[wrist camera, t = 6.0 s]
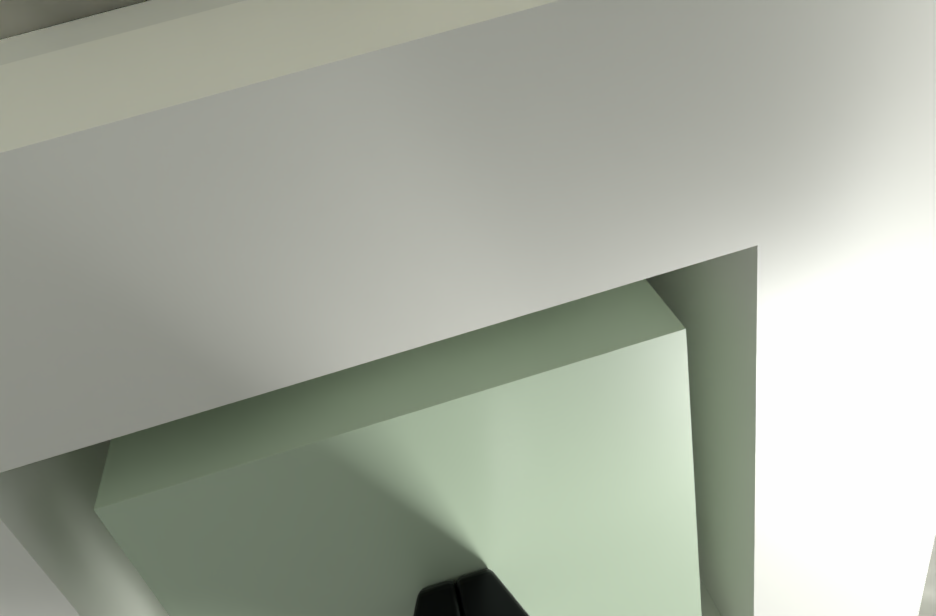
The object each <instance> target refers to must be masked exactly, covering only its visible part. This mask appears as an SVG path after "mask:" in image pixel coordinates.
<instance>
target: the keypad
mask: <svg viewBox="0 0 936 616" xmlns="http://www.w3.org/2000/svg"><path fill="white" fill-rule="evenodd" d="M643 279H646V280H647V281H648V283H649V284H650V285H651V286H652V287H653V289H654V290H655V291H656V292H657V294H658V295H659V296H660V297H661V299H662V300H663V301H664V302H665V303H666V305H667V306H668V307H669V308H670V310H671V311H672V312H673V313H674V315H675V316H676V317H677V318H678V319H679V321H680V322H681V323H682V324H683V326H684V327H685V328H686V338H687V356H688V374H689V393H690V411H691V429H692V448H693V466H694V484H695V503H696V521H697V539H698V558H699V576H700V594H701V613H702V616H918V614H919V609H920V604H921V600H922V595H923V590H924V585H925V581H926V576H927V571H928V567H929V562H930V557H931V553H932V548H933V543H934V539H935V534H936V0H150V1H146V2H142V3H138V4H134V5H131V6H127V7H123V8H119V9H115V10H112V11H108V12H104V13H100V14H96V15H93V16H89V17H85V18H81V19H77V20H74V21H70V22H66V23H62V24H58V25H55V26H51V27H47V28H43V29H39V30H36V31H32V32H28V33H24V34H20V35H17V36H13V37H9V38H5V39H1V40H0V616H169V615H168V613H167V612H166V610H165V609H164V608H163V606H162V605H161V603H160V602H159V601H158V599H157V598H156V596H155V595H154V594H153V592H152V591H151V589H150V588H149V587H148V585H147V584H146V582H145V581H144V580H143V578H142V577H141V575H140V574H139V573H138V571H137V570H136V568H135V567H134V566H133V564H132V563H131V561H130V560H129V559H128V557H127V556H126V554H125V553H124V552H123V550H122V549H121V547H120V546H119V545H118V543H117V542H116V540H115V539H114V538H113V536H112V535H111V533H110V532H109V531H108V529H107V528H106V526H105V525H104V524H103V522H102V521H101V520H100V518H99V517H98V515H97V514H96V513H95V511H94V506H95V502H96V498H97V494H98V490H99V486H100V482H101V478H102V474H103V470H104V466H105V462H106V458H107V454H108V450H109V446H110V442H111V439H114V438H117V437H120V436H124V435H127V434H130V433H134V432H137V431H140V430H144V429H147V428H150V427H154V426H157V425H160V424H164V423H167V422H170V421H174V420H177V419H180V418H184V417H187V416H190V415H194V414H197V413H200V412H204V411H207V410H210V409H214V408H217V407H220V406H224V405H227V404H230V403H234V402H237V401H240V400H244V399H247V398H250V397H254V396H257V395H260V394H264V393H267V392H270V391H274V390H277V389H280V388H284V387H287V386H290V385H294V384H297V383H300V382H304V381H307V380H310V379H314V378H317V377H320V376H324V375H327V374H330V373H334V372H337V371H340V370H344V369H347V368H350V367H354V366H357V365H360V364H364V363H367V362H370V361H374V360H377V359H380V358H384V357H387V356H390V355H394V354H397V353H400V352H404V351H407V350H410V349H414V348H417V347H420V346H424V345H427V344H430V343H434V342H437V341H440V340H444V339H447V338H450V337H454V336H457V335H460V334H464V333H467V332H470V331H474V330H477V329H480V328H484V327H487V326H490V325H493V324H497V323H500V322H503V321H507V320H510V319H513V318H517V317H520V316H523V315H527V314H530V313H533V312H537V311H540V310H543V309H547V308H550V307H553V306H557V305H560V304H563V303H567V302H570V301H573V300H577V299H580V298H583V297H587V296H590V295H593V294H597V293H600V292H603V291H607V290H610V289H613V288H617V287H620V286H623V285H627V284H630V283H633V282H637V281H640V280H643Z"/></svg>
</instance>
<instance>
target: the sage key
mask: <svg viewBox="0 0 936 616" xmlns="http://www.w3.org/2000/svg"><path fill="white" fill-rule="evenodd" d="M94 511H95V513H96V514H97V515H98V517H99V518H100V520H101V521H102V522H103V524H104V525H105V526H106V528H107V529H108V531H109V532H110V533H111V535H112V536H113V538H114V539H115V540H116V542H117V543H118V545H119V546H120V547H121V549H122V550H123V552H124V553H125V554H126V556H127V557H128V559H129V560H130V561H131V563H132V564H133V566H134V567H135V568H136V570H137V571H138V573H139V574H140V575H141V577H142V578H143V580H144V581H145V582H146V584H147V585H148V587H149V588H150V589H151V591H152V592H153V594H154V595H155V596H156V598H157V599H158V601H159V602H160V603H161V605H162V606H163V608H164V609H165V610H166V612H167V613H168V615H169V616H413V614H414V609H415V604H416V599H417V596H418V594H419V592H420V591H421V590H422V589H423V588H425V587H429V586H432V585H435V584H438V583H441V582H444V581H447V580H451V581H453V582H455V584H456V582H457V579H458V578H459V577H460V576H463V575H466V574H469V573H472V572H475V571H478V570H482V569H485V568H487V569H490V570H492V571H493V572H494V573H495V574H496V575H497V576H498V578H499V579H500V580H501V581H502V582H503V584H504V585H505V586H506V587H507V589H508V590H509V591H510V592H511V593H512V595H513V596H514V597H515V598H516V600H517V601H518V602H519V603H520V604H521V606H522V607H523V608H524V609H525V611H526V612H527V613H528V614H529V615H530V616H702V613H701V594H700V576H699V558H698V539H697V521H696V503H695V484H694V466H693V448H692V429H691V411H690V393H689V374H688V356H687V338H686V328H685V327H684V326H683V324H682V323H681V322H680V321H679V319H678V318H677V317H676V316H675V315H674V313H673V312H672V311H671V310H670V308H669V307H668V306H667V305H666V303H665V302H664V301H663V300H662V299H661V297H660V296H659V295H658V294H657V292H656V291H655V290H654V289H653V287H652V286H651V285H650V284H649V283H648V281H647V280H646V279H643V280H640V281H637V282H633V283H630V284H627V285H623V286H620V287H617V288H613V289H610V290H607V291H603V292H600V293H597V294H593V295H590V296H587V297H583V298H580V299H577V300H573V301H570V302H567V303H563V304H560V305H557V306H553V307H550V308H547V309H543V310H540V311H537V312H533V313H530V314H527V315H523V316H520V317H517V318H513V319H510V320H507V321H503V322H500V323H497V324H493V325H490V326H487V327H484V328H480V329H477V330H474V331H470V332H467V333H464V334H460V335H457V336H454V337H450V338H447V339H444V340H440V341H437V342H434V343H430V344H427V345H424V346H420V347H417V348H414V349H410V350H407V351H404V352H400V353H397V354H394V355H390V356H387V357H384V358H380V359H377V360H374V361H370V362H367V363H364V364H360V365H357V366H354V367H350V368H347V369H344V370H340V371H337V372H334V373H330V374H327V375H324V376H320V377H317V378H314V379H310V380H307V381H304V382H300V383H297V384H294V385H290V386H287V387H284V388H280V389H277V390H274V391H270V392H267V393H264V394H260V395H257V396H254V397H250V398H247V399H244V400H240V401H237V402H234V403H230V404H227V405H224V406H220V407H217V408H214V409H210V410H207V411H204V412H200V413H197V414H194V415H190V416H187V417H184V418H180V419H177V420H174V421H170V422H167V423H164V424H160V425H157V426H154V427H150V428H147V429H144V430H140V431H137V432H134V433H130V434H127V435H124V436H120V437H117V438H114V439H111V442H110V446H109V450H108V454H107V458H106V462H105V466H104V470H103V474H102V478H101V482H100V486H99V490H98V494H97V498H96V502H95V506H94ZM456 586H457V585H456Z"/></svg>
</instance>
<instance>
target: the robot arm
mask: <svg viewBox="0 0 936 616" xmlns="http://www.w3.org/2000/svg"><path fill="white" fill-rule="evenodd" d="M456 585H457V586H456ZM413 616H530V615H529V614H528V613H527V612H526V611H525V609H524V608H523V607H522V606H521V604H520V603H519V602H518V601H517V600H516V598H515V597H514V596H513V595H512V593H511V592H510V591H509V590H508V589H507V587H506V586H505V585H504V584H503V582H502V581H501V580H500V579H499V578H498V576H497V575H496V574H495V573H494V572H493V571H492V570H490V569H487V568H485V569H482V570H478V571H475V572H472V573H469V574H466V575H463V576H460V577H459V578H458V579H457V582H456V584H455V582H453V581H451V580H447V581H444V582H441V583H438V584H435V585H432V586H429V587H425V588H423V589H422V590H421V591H420V592H419V594H418V596H417V599H416V604H415V609H414V614H413Z"/></svg>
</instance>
